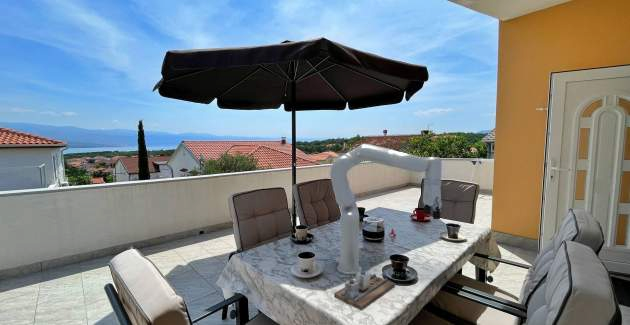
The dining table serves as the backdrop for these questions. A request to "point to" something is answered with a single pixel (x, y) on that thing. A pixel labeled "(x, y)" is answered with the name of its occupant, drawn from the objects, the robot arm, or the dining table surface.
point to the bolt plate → (364, 292)
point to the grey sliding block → (363, 279)
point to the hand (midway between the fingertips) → (431, 216)
